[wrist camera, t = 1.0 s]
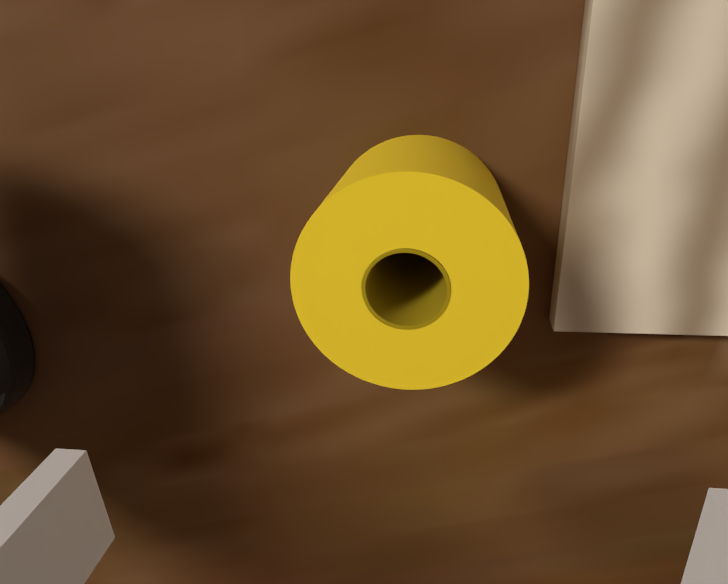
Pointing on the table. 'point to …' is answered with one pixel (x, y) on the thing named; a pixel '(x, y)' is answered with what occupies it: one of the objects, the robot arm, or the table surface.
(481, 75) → the table surface
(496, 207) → the tape roll
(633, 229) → the board
